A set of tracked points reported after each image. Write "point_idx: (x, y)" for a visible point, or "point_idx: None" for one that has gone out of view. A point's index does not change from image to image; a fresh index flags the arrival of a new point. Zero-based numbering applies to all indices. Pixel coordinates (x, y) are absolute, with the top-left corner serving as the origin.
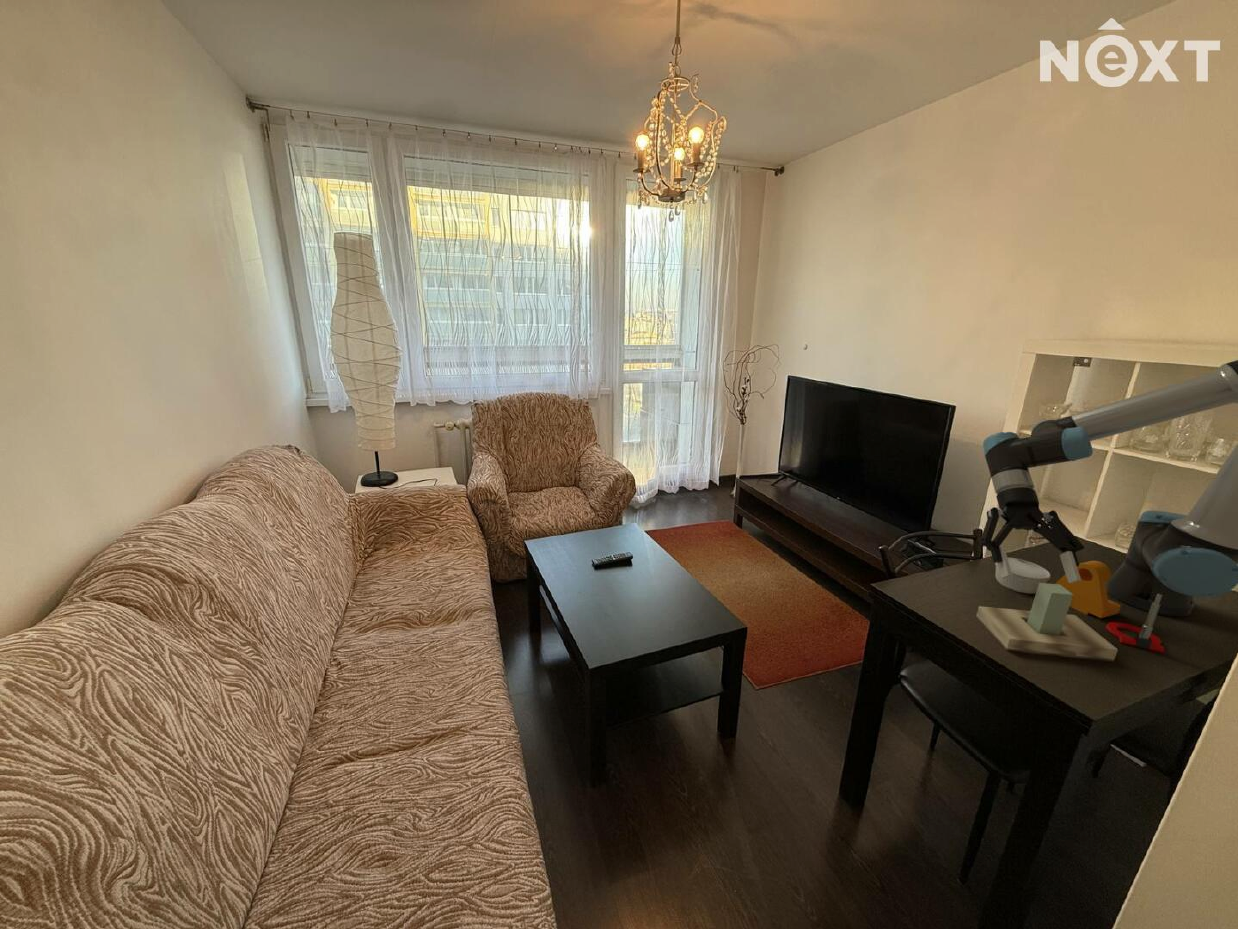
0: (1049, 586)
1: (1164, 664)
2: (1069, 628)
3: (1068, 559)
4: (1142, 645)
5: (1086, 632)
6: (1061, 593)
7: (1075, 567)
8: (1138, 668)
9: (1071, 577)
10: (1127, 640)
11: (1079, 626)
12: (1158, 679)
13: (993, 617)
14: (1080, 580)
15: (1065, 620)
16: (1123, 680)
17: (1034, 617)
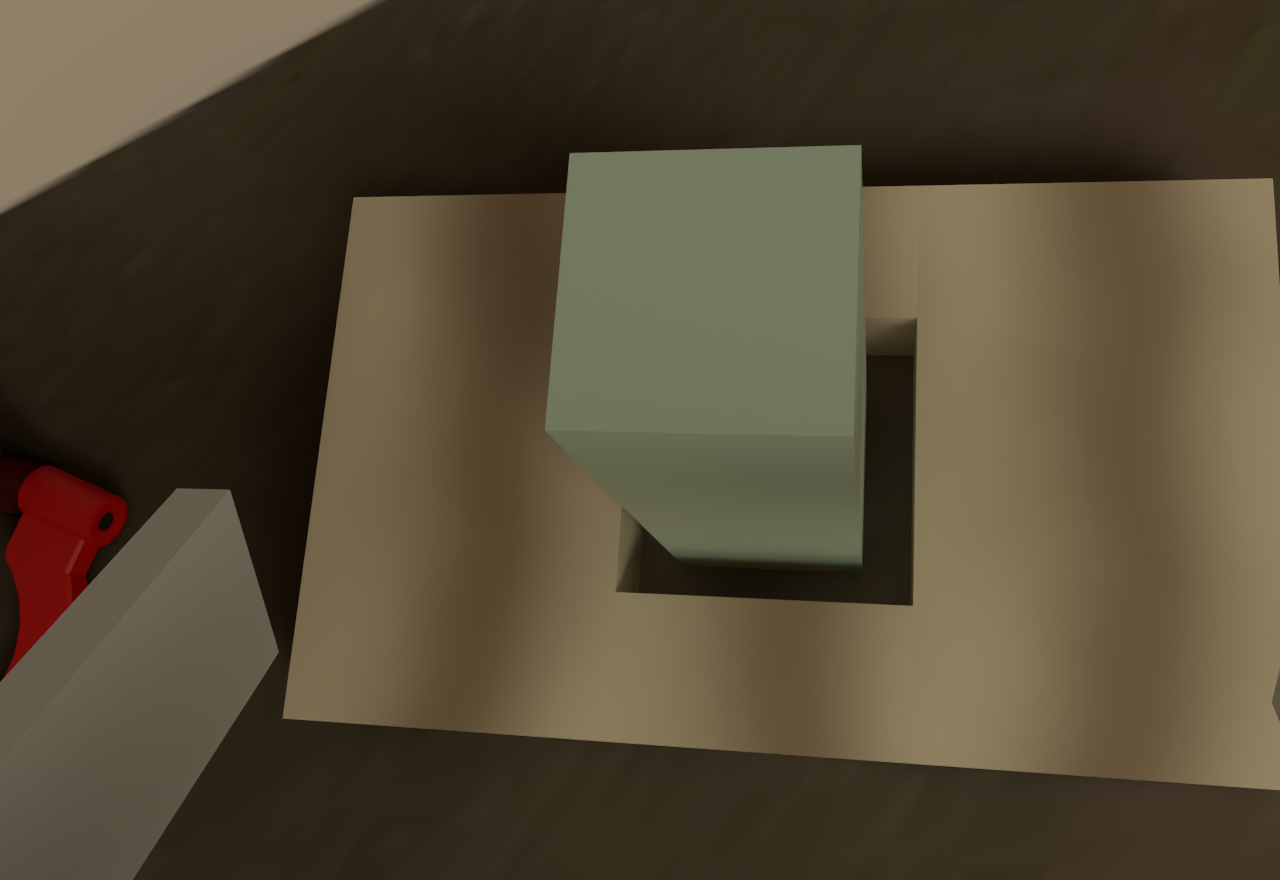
0: (760, 340)
1: (56, 287)
2: (527, 457)
3: (23, 804)
4: (20, 448)
5: (416, 412)
6: (722, 154)
7: (73, 632)
8: (281, 206)
9: (223, 621)
10: (82, 486)
11: (402, 507)
12: (254, 110)
13: (1246, 553)
14: (182, 500)
15: (457, 601)
16: (506, 50)
17: (862, 457)
